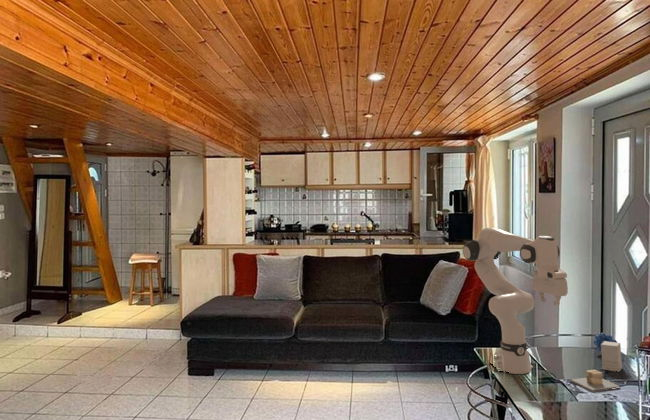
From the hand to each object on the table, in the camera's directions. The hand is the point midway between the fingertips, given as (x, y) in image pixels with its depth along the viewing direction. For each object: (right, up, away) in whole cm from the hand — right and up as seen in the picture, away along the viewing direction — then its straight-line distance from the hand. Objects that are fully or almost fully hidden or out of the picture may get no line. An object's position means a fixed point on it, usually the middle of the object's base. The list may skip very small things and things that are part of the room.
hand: (549, 303), depth 214 cm
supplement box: (+42, -38, +24) cm, 61 cm away
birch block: (+22, -37, +4) cm, 43 cm away
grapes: (+52, -37, +45) cm, 78 cm away
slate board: (+22, -38, +4) cm, 44 cm away
